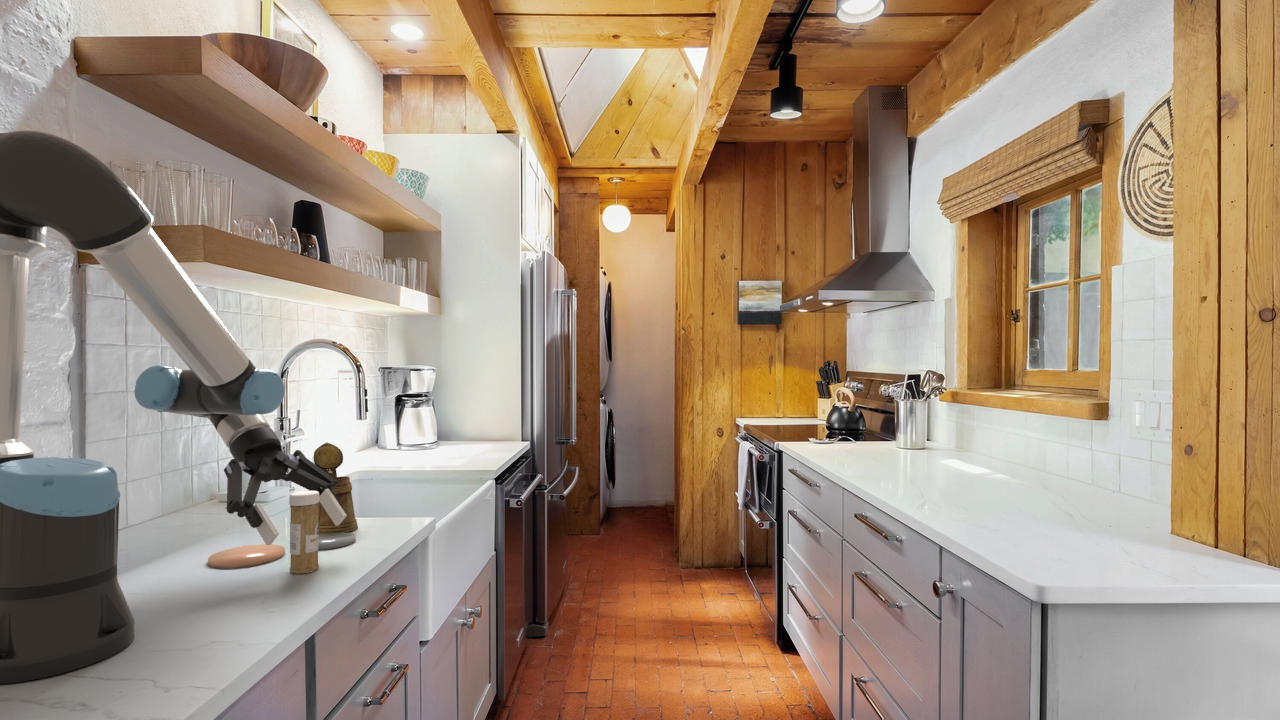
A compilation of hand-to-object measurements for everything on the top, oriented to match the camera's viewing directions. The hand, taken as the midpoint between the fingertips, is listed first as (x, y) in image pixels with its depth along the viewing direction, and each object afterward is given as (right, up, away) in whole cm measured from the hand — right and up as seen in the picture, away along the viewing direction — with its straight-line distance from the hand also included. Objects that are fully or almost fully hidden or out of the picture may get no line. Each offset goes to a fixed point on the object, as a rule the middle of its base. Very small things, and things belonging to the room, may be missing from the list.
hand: (309, 529), depth 109 cm
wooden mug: (-10, -7, +28) cm, 31 cm away
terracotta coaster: (-15, -7, +6) cm, 17 cm away
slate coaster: (-5, -7, +16) cm, 18 cm away
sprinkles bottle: (-1, -7, -1) cm, 7 cm away
